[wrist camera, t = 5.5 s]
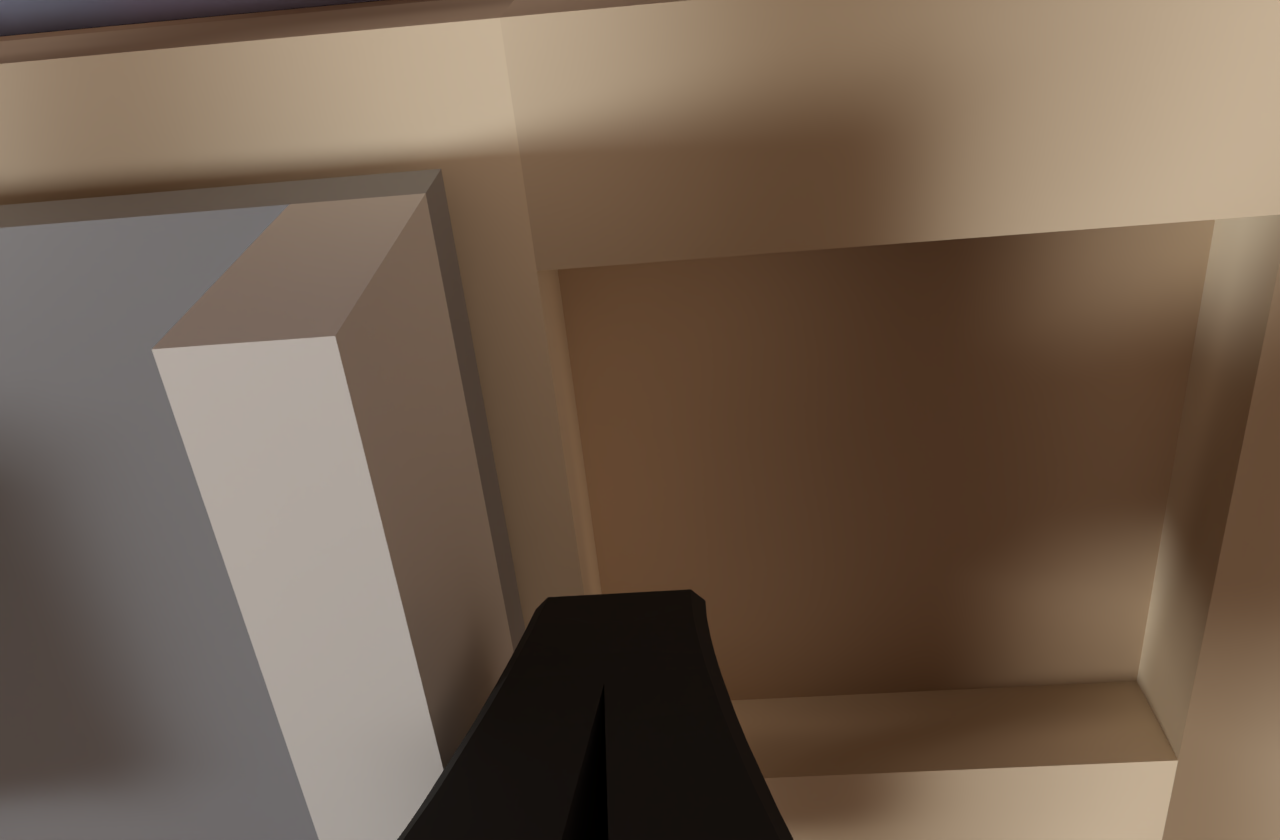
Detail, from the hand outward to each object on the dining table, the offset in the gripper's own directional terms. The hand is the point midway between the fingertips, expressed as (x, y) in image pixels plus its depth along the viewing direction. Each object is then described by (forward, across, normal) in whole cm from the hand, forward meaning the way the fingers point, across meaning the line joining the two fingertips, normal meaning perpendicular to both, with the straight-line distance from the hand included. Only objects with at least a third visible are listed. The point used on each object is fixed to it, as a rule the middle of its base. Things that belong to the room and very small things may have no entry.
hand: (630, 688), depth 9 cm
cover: (+1, +5, 0) cm, 5 cm away
